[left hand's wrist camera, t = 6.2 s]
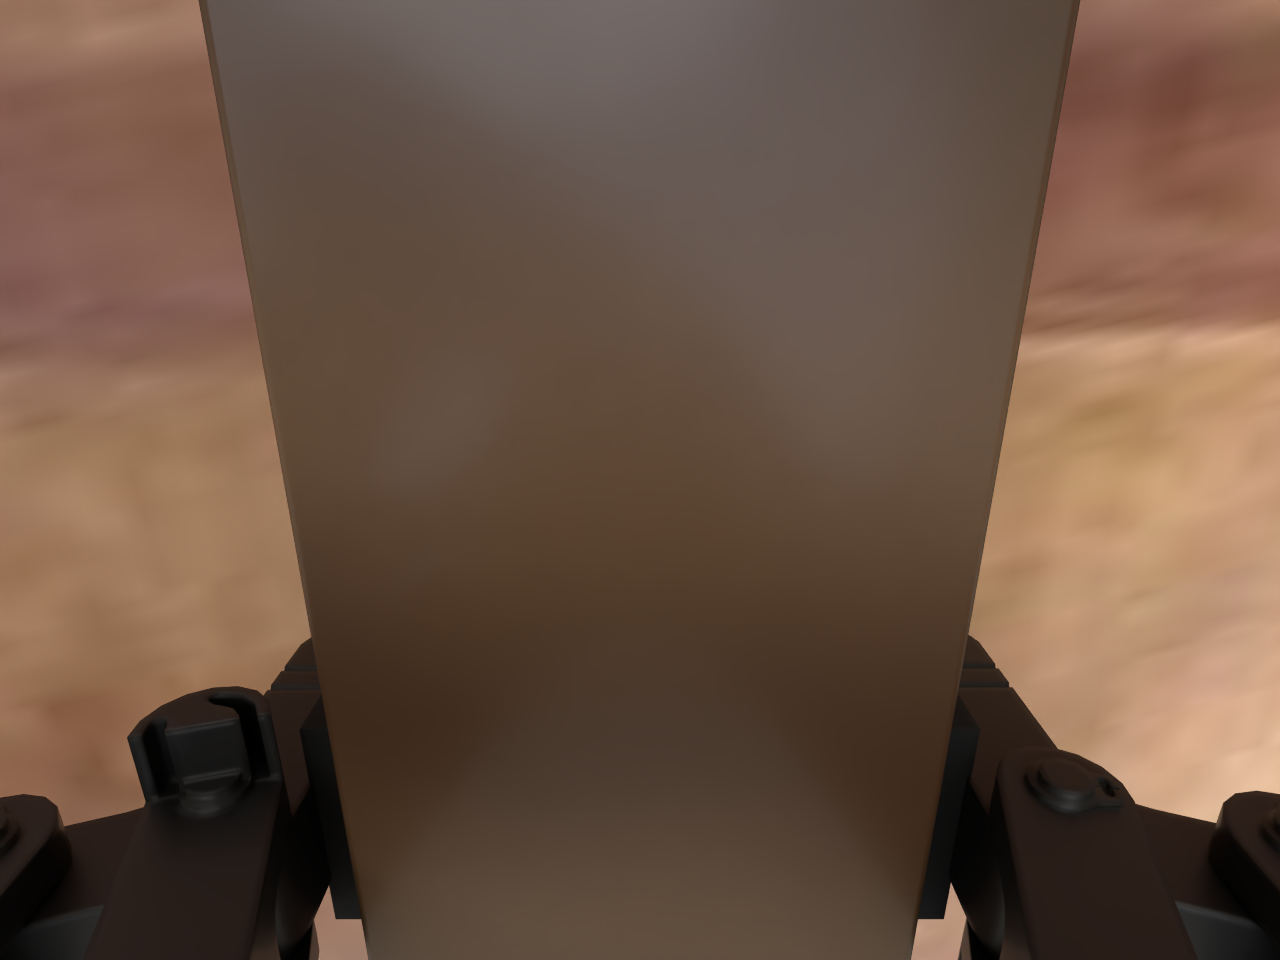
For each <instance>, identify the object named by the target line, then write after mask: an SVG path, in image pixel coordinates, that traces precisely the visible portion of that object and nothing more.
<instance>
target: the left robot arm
mask: <svg viewBox="0 0 1280 960" xmlns="http://www.w3.org/2000/svg"><path fill="white" fill-rule="evenodd" d="M127 739H128V742H129V746H130V749H131V753H132V756H133V760H134V763H135V766H136V770H137V773H138V777H139V780H140V783H141V787H142V790H143V794H144V797H145V801H146V803H145V806H144V807H143V808H140V809H136V810H133V811H130V812H126V813H122V814H117V815H113V816H108V817H104V818H100V819H95V820H91V821H86V822H82V823H78V824H73V825H69V826H64V825H63V822H62V819H61V816H60V813H59V810H58V807H57V806H56V805H55V804H54V803H52V802H51V801H50V800H48V799H47V798H46V797H42V796H34V795H26V794H22V795H15V796H9V797H2V798H0V960H318V958H319V945H318V938H317V932H316V927H315V922H314V918H315V915H316V913H317V911H318V909H319V906H320V904H321V902H322V900H323V897H324V895H325V893H326V890H327V888H328V886H329V887H330V892H331V897H332V902H333V907H334V913H335V918H336V919H361V914H360V908H359V903H358V897H357V891H356V886H355V880H354V874H353V869H352V863H351V857H350V852H349V846H348V840H347V835H346V829H345V824H344V818H343V812H342V807H341V801H340V795H339V790H338V784H337V778H336V773H335V767H334V761H333V756H332V750H331V744H330V739H329V733H328V728H327V722H326V716H325V711H324V705H323V699H322V694H321V688H320V682H319V677H318V671H317V665H316V660H315V654H314V648H313V643H312V637H311V638H310V639H308V640H307V641H305V642H304V643H302V644H301V645H300V647H299V648H298V649H297V651H296V652H295V653H294V655H293V656H292V658H291V659H290V660H289V662H288V663H287V664H286V666H285V670H284V671H281V673H280V674H279V675H278V677H277V678H276V679H275V681H274V682H273V683H272V685H271V690H267V692H266V693H265V694H264V696H263V695H262V694H261V693H259V692H258V691H257V690H252V689H248V688H243V687H239V686H235V687H216V688H210V689H206V690H202V691H198V692H194V693H190V694H187V695H184V696H182V697H180V698H178V699H175V700H173V701H171V702H169V703H167V704H164V705H162V706H160V707H159V708H158V709H156V710H155V711H153V712H152V713H151V714H149V715H148V716H146V717H145V718H143V719H142V720H141V721H140V722H139V723H138V724H137V725H136V727H135V728H134V729H133V731H132V732H131V733H130V734H129V736H128V737H127ZM951 883H952V885H953V888H954V890H955V892H956V894H957V897H958V899H959V901H960V903H961V906H962V908H963V910H964V912H965V915H966V917H967V918H966V922H965V927H964V932H963V937H962V942H961V947H960V951H959V956H958V960H1280V794H1275V793H1268V792H1262V791H1251V792H1243V793H1235V794H1234V795H1233V796H1232V797H1230V798H1229V799H1228V800H1226V801H1225V802H1224V803H1223V805H1222V808H1221V811H1220V814H1219V817H1218V820H1217V823H1213V822H1208V821H1204V820H1199V819H1195V818H1190V817H1186V816H1182V815H1177V814H1173V813H1168V812H1164V811H1159V810H1155V809H1151V808H1148V807H1144V806H1141V805H1138V804H1135V802H1134V800H1133V798H1132V797H1131V796H1130V794H1129V793H1128V791H1127V790H1126V788H1125V787H1124V785H1123V784H1122V783H1121V782H1120V781H1119V780H1118V779H1116V778H1115V777H1114V776H1113V775H1111V774H1110V773H1109V772H1108V771H1106V770H1105V769H1104V768H1103V767H1101V766H1099V765H1097V764H1095V763H1093V762H1091V761H1089V760H1087V759H1085V758H1083V757H1081V756H1079V755H1077V754H1074V753H1070V752H1066V751H1063V750H1059V749H1057V747H1056V746H1055V744H1054V743H1053V742H1052V740H1051V739H1050V738H1049V736H1048V735H1047V734H1046V732H1045V731H1044V730H1043V728H1042V727H1041V725H1040V724H1039V723H1038V721H1037V720H1036V719H1035V717H1034V716H1033V715H1032V713H1031V712H1030V711H1029V709H1028V708H1027V707H1026V705H1025V704H1024V702H1023V701H1022V700H1021V698H1020V697H1019V696H1018V694H1017V693H1016V692H1015V690H1014V689H1013V688H1012V687H1009V682H1008V681H1007V679H1006V678H1005V677H1004V675H1003V674H1002V673H1001V671H1000V670H999V669H996V668H995V663H994V662H993V660H992V659H991V658H990V656H989V655H988V654H987V652H986V651H985V650H984V648H983V647H982V646H981V644H980V643H979V642H978V641H977V640H975V639H974V638H972V637H971V636H970V635H968V638H967V644H966V649H965V655H964V661H963V666H962V672H961V678H960V683H959V689H958V695H957V700H956V706H955V712H954V717H953V723H952V729H951V734H950V740H949V746H948V751H947V757H946V763H945V768H944V774H943V780H942V785H941V791H940V797H939V802H938V808H937V814H936V819H935V825H934V831H933V836H932V842H931V848H930V853H929V859H928V865H927V870H926V876H925V882H924V887H923V893H922V899H921V904H920V910H919V916H918V919H944V915H945V910H946V905H947V900H948V894H949V889H950V884H951Z"/></svg>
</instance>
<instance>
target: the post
mask: <svg viewBox="0 0 1280 960" xmlns="http://www.w3.org/2000/svg"><path fill="white" fill-rule="evenodd" d="M1079 4H1080V0H199V5H200V10H201V16H202V22H203V27H204V33H205V39H206V44H207V50H208V56H209V61H210V67H211V72H212V78H213V84H214V89H215V95H216V101H217V106H218V112H219V118H220V123H221V129H222V135H223V140H224V146H225V152H226V157H227V163H228V168H229V174H230V180H231V185H232V191H233V197H234V202H235V208H236V214H237V219H238V225H239V231H240V236H241V242H242V248H243V253H244V259H245V264H246V270H247V276H248V281H249V287H250V293H251V298H252V304H253V310H254V315H255V321H256V327H257V332H258V338H259V344H260V349H261V355H262V360H263V366H264V372H265V377H266V383H267V389H268V394H269V400H270V406H271V411H272V417H273V423H274V428H275V434H276V440H277V445H278V451H279V456H280V462H281V468H282V473H283V479H284V485H285V490H286V496H287V502H288V507H289V513H290V519H291V524H292V530H293V536H294V541H295V547H296V552H297V558H298V564H299V569H300V575H301V581H302V586H303V592H304V598H305V603H306V609H307V615H308V620H309V626H310V632H311V637H312V643H313V648H314V654H315V660H316V665H317V671H318V677H319V682H320V688H321V694H322V699H323V705H324V711H325V716H326V722H327V728H328V733H329V739H330V744H331V750H332V756H333V761H334V767H335V773H336V778H337V784H338V790H339V795H340V801H341V807H342V812H343V818H344V824H345V829H346V835H347V840H348V846H349V852H350V857H351V863H352V869H353V874H354V880H355V886H356V891H357V897H358V903H359V908H360V914H361V920H362V925H363V931H364V936H365V942H366V948H367V953H368V959H369V960H911V955H912V950H913V944H914V938H915V933H916V927H917V921H918V916H919V910H920V904H921V899H922V893H923V887H924V882H925V876H926V870H927V865H928V859H929V853H930V848H931V842H932V836H933V831H934V825H935V819H936V814H937V808H938V802H939V797H940V791H941V785H942V780H943V774H944V768H945V763H946V757H947V751H948V746H949V740H950V734H951V729H952V723H953V717H954V712H955V706H956V700H957V695H958V689H959V683H960V678H961V672H962V666H963V661H964V655H965V649H966V644H967V638H968V632H969V627H970V621H971V615H972V610H973V604H974V598H975V593H976V587H977V581H978V576H979V570H980V564H981V559H982V553H983V547H984V542H985V536H986V530H987V525H988V519H989V513H990V508H991V502H992V496H993V491H994V485H995V480H996V474H997V468H998V463H999V457H1000V451H1001V446H1002V440H1003V434H1004V429H1005V423H1006V417H1007V412H1008V406H1009V400H1010V395H1011V389H1012V383H1013V378H1014V372H1015V366H1016V361H1017V355H1018V349H1019V344H1020V338H1021V332H1022V327H1023V321H1024V315H1025V310H1026V304H1027V298H1028V293H1029V287H1030V281H1031V276H1032V270H1033V264H1034V259H1035V253H1036V247H1037V242H1038V236H1039V230H1040V225H1041V219H1042V213H1043V208H1044V202H1045V196H1046V191H1047V185H1048V179H1049V174H1050V168H1051V162H1052V157H1053V151H1054V145H1055V140H1056V134H1057V128H1058V123H1059V117H1060V111H1061V106H1062V100H1063V94H1064V89H1065V83H1066V77H1067V72H1068V66H1069V60H1070V55H1071V49H1072V43H1073V38H1074V32H1075V26H1076V21H1077V15H1078V9H1079Z"/></svg>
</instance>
